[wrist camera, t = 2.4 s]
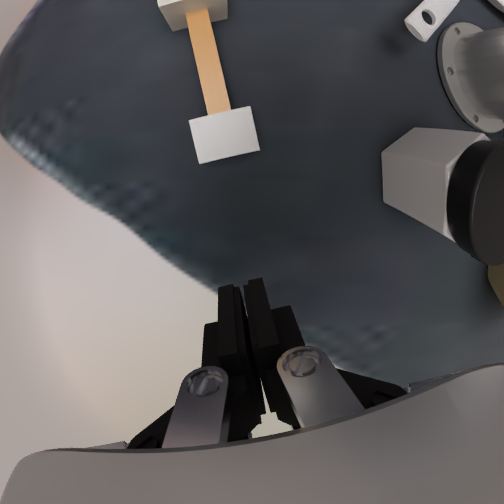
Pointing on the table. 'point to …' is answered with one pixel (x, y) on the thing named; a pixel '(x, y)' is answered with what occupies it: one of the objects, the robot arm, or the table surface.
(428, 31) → the pan
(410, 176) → the jar
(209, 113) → the block ended dumbbell
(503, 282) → the plant pot
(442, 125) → the table surface
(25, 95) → the table surface
